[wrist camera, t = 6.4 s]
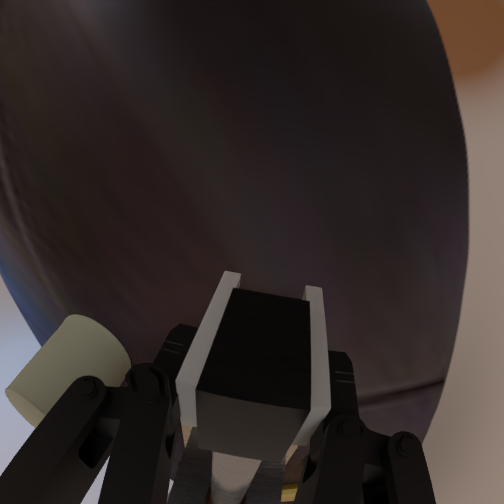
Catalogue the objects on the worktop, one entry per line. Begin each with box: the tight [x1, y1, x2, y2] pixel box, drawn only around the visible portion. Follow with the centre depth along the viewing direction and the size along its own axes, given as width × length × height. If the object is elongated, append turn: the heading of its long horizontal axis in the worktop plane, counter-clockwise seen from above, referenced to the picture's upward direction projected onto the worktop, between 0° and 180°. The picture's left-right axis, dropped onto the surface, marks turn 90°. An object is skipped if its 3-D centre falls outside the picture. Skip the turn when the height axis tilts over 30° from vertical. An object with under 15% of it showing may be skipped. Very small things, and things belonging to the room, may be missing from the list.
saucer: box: [281, 483, 299, 502], centre depth 38 cm, size 9×9×2 cm
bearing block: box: [166, 423, 298, 504], centre depth 23 cm, size 26×14×14 cm, turn 173°
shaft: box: [195, 287, 311, 504], centre depth 15 cm, size 27×3×5 cm, turn 173°
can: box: [5, 314, 131, 428], centre depth 21 cm, size 9×9×12 cm
